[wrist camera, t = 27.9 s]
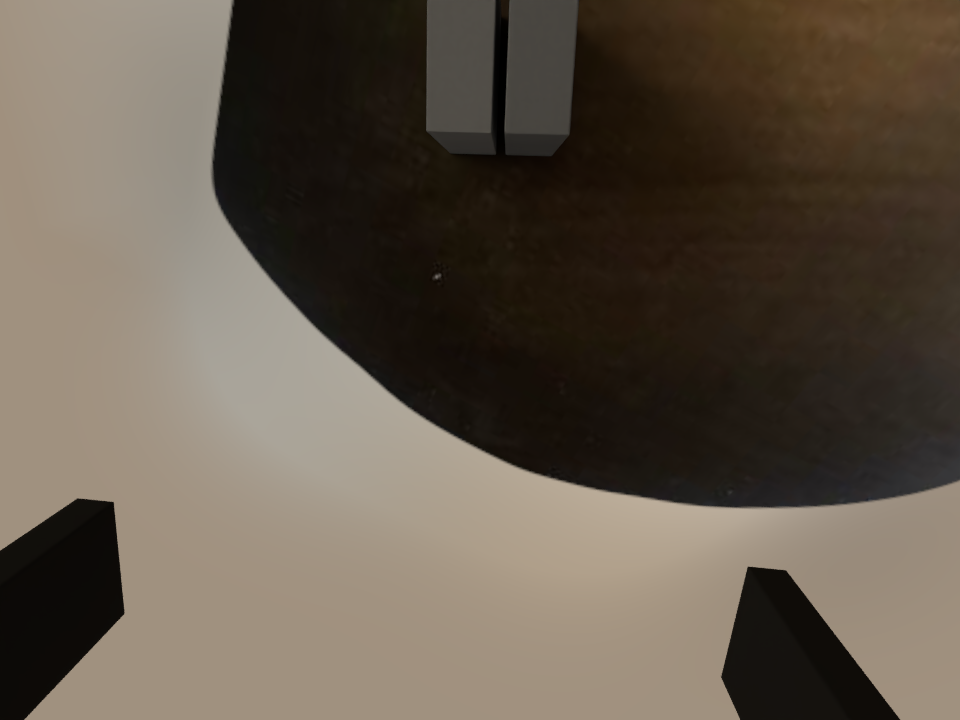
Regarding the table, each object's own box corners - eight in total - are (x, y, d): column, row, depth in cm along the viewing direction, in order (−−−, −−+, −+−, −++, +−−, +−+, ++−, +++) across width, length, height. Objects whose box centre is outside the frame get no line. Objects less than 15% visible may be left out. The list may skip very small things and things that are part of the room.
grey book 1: (452, 14, 35) (427, -71, 24) (501, 15, 34) (498, -70, 24) (450, 153, 37) (426, 131, 26) (496, 154, 37) (491, 133, 26)
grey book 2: (511, 16, 34) (512, -70, 24) (560, 17, 34) (583, -69, 24) (505, 155, 37) (504, 133, 26) (552, 156, 36) (569, 135, 26)
